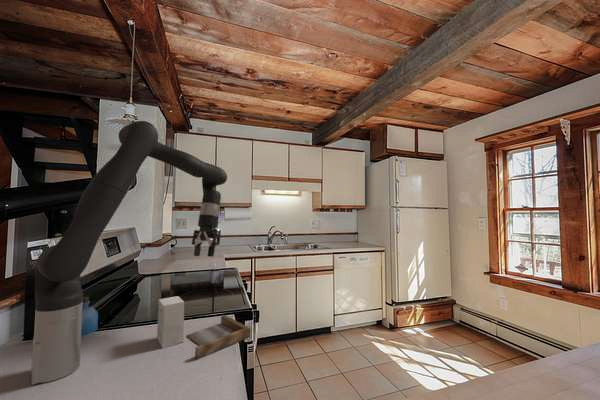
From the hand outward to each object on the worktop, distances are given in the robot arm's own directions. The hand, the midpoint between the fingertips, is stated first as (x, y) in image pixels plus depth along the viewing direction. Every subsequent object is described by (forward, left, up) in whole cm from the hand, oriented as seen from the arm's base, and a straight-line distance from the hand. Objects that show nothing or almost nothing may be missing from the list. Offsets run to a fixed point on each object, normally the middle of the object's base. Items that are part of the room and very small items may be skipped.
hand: (203, 256), depth 100 cm
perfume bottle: (-33, +22, -26) cm, 47 cm away
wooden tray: (-4, -15, -25) cm, 30 cm away
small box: (-14, -6, -25) cm, 30 cm away
